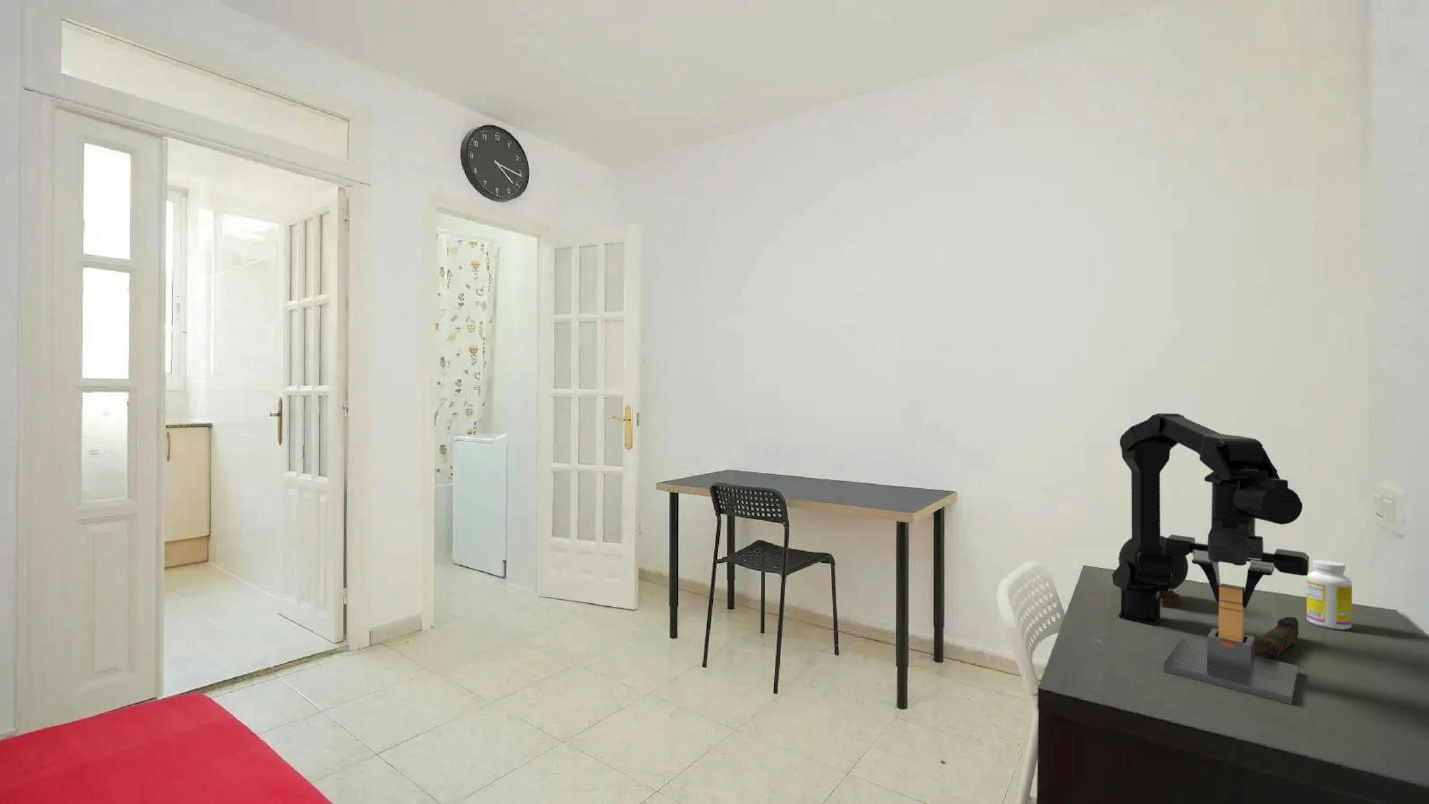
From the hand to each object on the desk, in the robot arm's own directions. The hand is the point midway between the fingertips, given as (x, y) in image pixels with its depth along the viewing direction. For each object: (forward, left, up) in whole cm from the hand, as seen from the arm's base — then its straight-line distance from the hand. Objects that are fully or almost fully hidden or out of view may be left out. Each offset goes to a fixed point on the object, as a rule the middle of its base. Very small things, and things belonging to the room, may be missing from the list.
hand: (1231, 604), depth 106 cm
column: (0, 0, -6) cm, 6 cm away
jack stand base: (0, 0, -11) cm, 11 cm away
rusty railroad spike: (+4, +20, -12) cm, 24 cm away
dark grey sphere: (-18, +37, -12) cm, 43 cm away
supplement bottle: (+11, +44, -12) cm, 47 cm away
